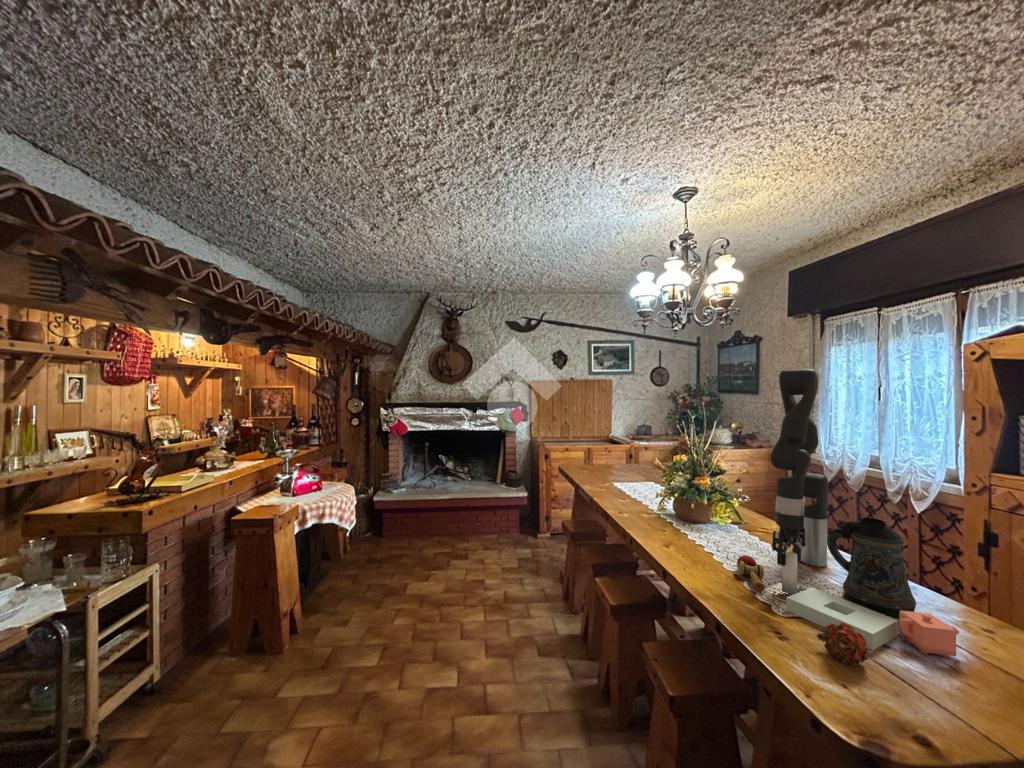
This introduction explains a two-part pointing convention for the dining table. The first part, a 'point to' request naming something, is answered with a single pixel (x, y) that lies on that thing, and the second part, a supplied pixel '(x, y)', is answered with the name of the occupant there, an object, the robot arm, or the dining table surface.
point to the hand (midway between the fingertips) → (789, 562)
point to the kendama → (751, 571)
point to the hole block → (843, 615)
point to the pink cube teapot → (928, 633)
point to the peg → (790, 573)
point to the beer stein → (874, 567)
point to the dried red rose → (844, 643)
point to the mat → (789, 594)
